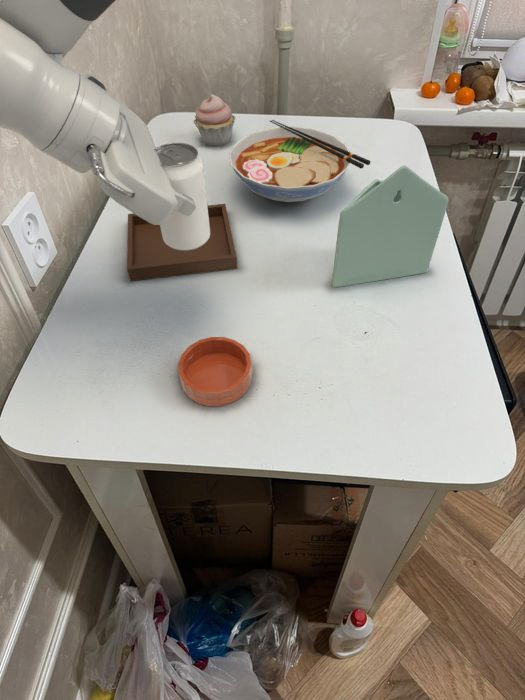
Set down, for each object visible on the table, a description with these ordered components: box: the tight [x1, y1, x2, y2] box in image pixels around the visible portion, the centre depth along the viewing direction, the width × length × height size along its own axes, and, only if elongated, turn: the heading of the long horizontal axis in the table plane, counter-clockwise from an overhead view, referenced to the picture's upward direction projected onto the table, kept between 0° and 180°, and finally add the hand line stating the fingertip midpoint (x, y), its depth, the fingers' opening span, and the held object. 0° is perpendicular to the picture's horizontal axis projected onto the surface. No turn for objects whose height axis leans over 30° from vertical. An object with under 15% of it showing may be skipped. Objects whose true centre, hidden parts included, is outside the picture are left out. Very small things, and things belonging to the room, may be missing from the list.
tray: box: [126, 203, 238, 282], centre depth 86 cm, size 18×16×2 cm
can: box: [154, 142, 210, 251], centre depth 64 cm, size 6×6×12 cm
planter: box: [331, 165, 449, 289], centre depth 76 cm, size 16×8×20 cm, turn 102°
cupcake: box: [192, 93, 236, 147], centre depth 109 cm, size 9×9×10 cm
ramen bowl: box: [228, 119, 371, 203], centre depth 96 cm, size 25×23×8 cm
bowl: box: [177, 336, 253, 408], centre depth 67 cm, size 10×10×3 cm
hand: (184, 192), depth 63 cm, fingers closed on can, 6 cm apart
